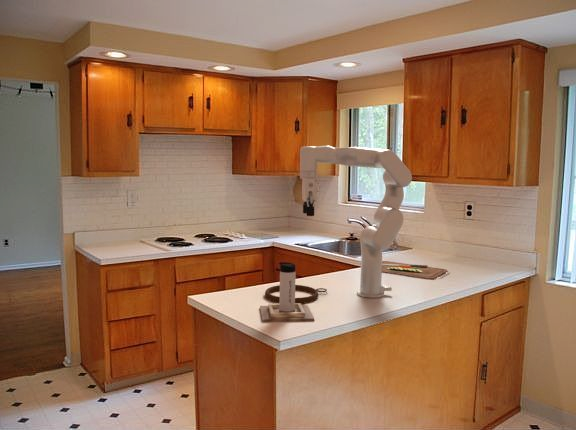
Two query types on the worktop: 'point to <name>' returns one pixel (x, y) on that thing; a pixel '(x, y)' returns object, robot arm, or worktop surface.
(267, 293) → the decorative ring
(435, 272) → the chopping board
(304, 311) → the walnut coaster board
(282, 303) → the travel mug
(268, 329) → the worktop surface
